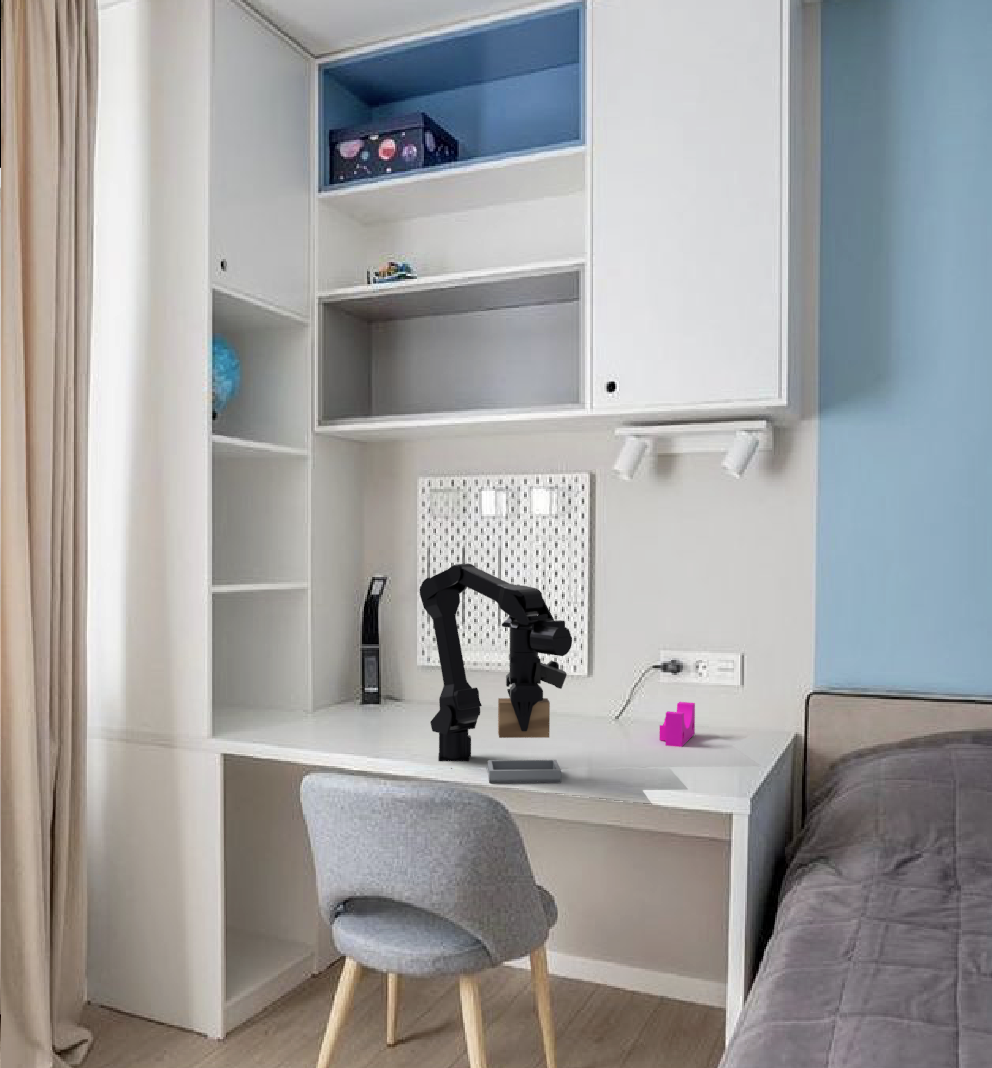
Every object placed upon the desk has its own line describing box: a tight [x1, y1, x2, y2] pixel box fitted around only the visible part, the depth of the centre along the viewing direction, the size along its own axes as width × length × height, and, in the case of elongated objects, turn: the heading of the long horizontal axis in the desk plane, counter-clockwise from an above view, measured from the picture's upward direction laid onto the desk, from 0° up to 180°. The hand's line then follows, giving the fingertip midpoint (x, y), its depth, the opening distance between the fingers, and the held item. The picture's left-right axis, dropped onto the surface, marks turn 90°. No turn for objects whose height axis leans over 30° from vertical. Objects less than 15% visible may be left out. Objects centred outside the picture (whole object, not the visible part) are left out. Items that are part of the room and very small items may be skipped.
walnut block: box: [497, 697, 551, 739], centre depth 197 cm, size 4×10×7 cm, turn 93°
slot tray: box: [487, 759, 562, 784], centre depth 197 cm, size 14×9×2 cm, turn 93°
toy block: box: [659, 701, 696, 748], centre depth 233 cm, size 15×6×8 cm, turn 157°
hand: (523, 728), depth 197 cm, fingers closed on walnut block, 4 cm apart
